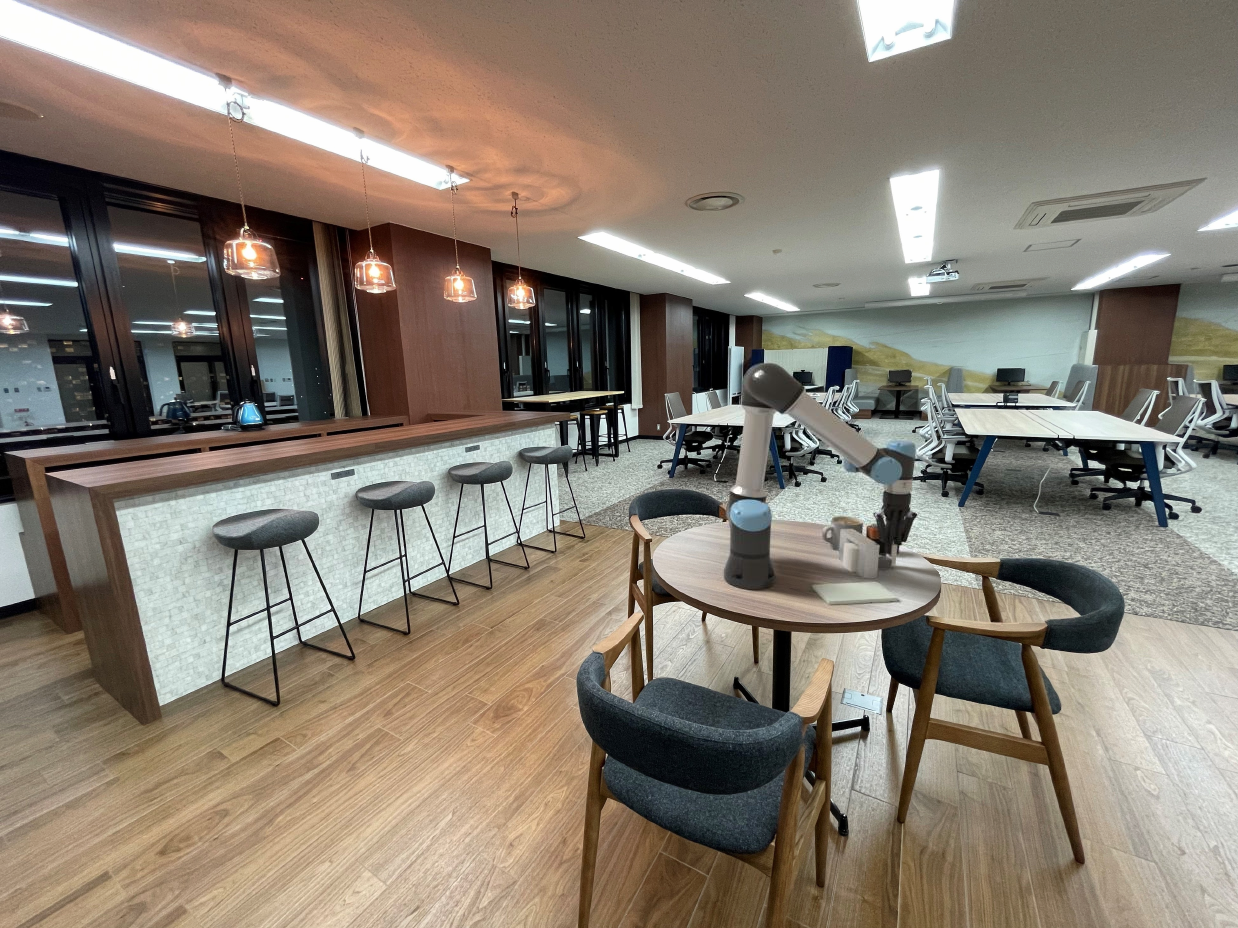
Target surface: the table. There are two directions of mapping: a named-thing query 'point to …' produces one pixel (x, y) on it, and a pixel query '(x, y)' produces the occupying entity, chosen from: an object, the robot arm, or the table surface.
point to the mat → (854, 593)
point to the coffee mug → (836, 527)
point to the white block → (852, 558)
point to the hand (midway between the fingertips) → (890, 563)
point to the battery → (875, 537)
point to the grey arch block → (861, 552)
